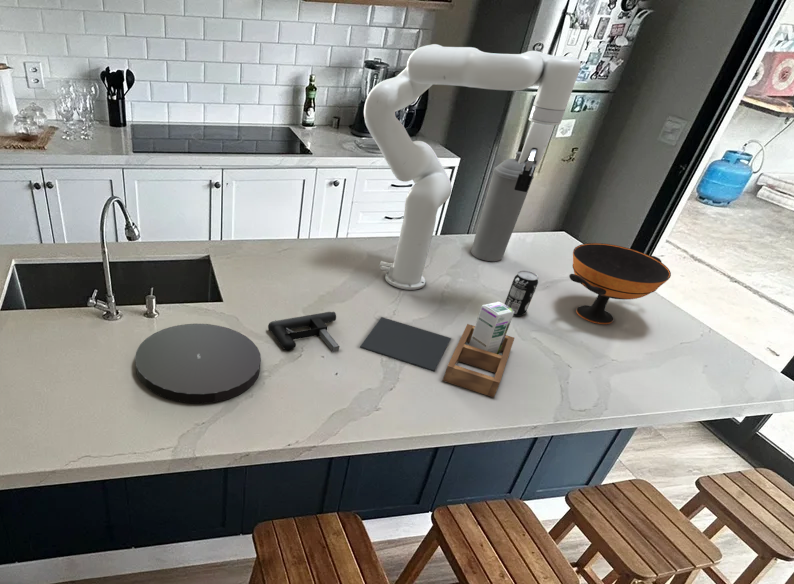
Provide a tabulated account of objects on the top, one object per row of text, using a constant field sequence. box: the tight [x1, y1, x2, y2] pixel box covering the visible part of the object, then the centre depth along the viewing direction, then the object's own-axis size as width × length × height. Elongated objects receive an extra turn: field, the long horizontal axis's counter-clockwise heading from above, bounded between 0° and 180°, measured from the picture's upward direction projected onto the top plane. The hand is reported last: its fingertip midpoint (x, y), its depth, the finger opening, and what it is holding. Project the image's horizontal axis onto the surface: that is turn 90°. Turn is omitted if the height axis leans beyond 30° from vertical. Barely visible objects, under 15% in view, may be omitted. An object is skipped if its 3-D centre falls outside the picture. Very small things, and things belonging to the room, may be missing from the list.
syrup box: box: [468, 300, 514, 355], centre depth 147 cm, size 6×6×14 cm
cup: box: [569, 242, 672, 325], centre depth 168 cm, size 36×26×18 cm
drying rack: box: [442, 323, 515, 398], centre depth 146 cm, size 12×24×4 cm, turn 152°
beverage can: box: [504, 270, 539, 317], centre depth 168 cm, size 7×7×12 cm
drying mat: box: [359, 316, 452, 372], centre depth 154 cm, size 20×18×1 cm
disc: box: [134, 323, 262, 404], centre depth 138 cm, size 30×30×3 cm
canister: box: [470, 151, 535, 262], centre depth 192 cm, size 13×13×35 cm
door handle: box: [267, 311, 340, 353], centre depth 152 cm, size 3×20×16 cm
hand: (522, 185), depth 151 cm, fingers open, 9 cm apart
